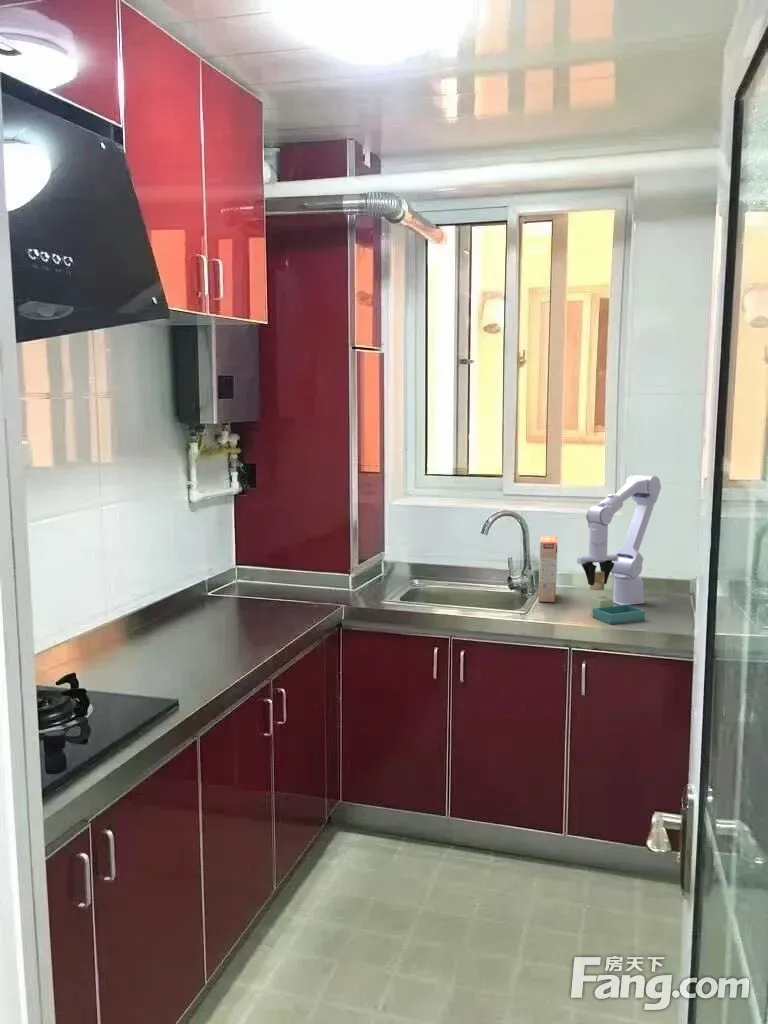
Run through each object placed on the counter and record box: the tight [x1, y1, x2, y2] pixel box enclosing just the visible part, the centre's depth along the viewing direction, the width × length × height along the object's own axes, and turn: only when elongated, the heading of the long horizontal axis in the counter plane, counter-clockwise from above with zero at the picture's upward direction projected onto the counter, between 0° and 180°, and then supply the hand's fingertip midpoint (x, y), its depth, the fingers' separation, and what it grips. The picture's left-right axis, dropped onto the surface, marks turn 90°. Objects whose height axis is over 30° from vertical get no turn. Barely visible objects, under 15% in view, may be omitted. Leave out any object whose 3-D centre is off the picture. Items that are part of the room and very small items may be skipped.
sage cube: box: [590, 595, 614, 614], centre depth 281 cm, size 5×5×5 cm
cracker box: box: [538, 535, 558, 603], centre depth 302 cm, size 14×6×21 cm, turn 168°
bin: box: [592, 604, 646, 625], centre depth 274 cm, size 13×9×3 cm
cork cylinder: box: [589, 570, 605, 591], centre depth 286 cm, size 4×4×6 cm
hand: (597, 584), depth 286 cm, fingers closed on cork cylinder, 4 cm apart
